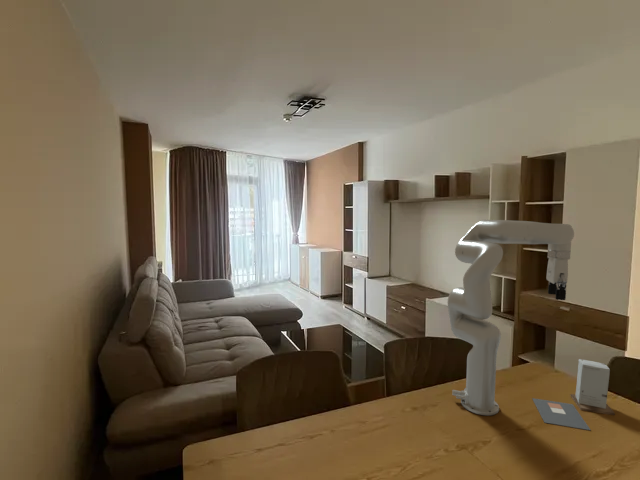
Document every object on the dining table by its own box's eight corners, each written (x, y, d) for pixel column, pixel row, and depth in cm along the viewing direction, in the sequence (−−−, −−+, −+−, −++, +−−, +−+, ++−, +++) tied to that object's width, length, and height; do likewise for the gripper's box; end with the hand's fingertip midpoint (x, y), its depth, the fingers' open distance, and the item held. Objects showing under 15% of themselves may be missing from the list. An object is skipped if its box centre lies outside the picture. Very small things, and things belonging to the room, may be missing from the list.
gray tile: (544, 422, 117) (544, 422, 117) (532, 398, 132) (532, 398, 132) (590, 430, 113) (590, 429, 113) (572, 404, 128) (572, 404, 128)
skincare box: (578, 403, 127) (581, 364, 126) (574, 396, 132) (577, 358, 131) (607, 409, 123) (610, 369, 122) (602, 401, 129) (605, 362, 128)
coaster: (580, 409, 125) (580, 407, 124) (570, 395, 134) (570, 393, 134) (614, 415, 121) (614, 413, 121) (601, 400, 131) (601, 398, 131)
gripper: (541, 252, 149) (539, 291, 150) (554, 256, 132) (552, 301, 134) (562, 252, 146) (560, 292, 148) (578, 257, 130) (575, 302, 131)
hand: (556, 296), depth 141 cm, fingers open, 9 cm apart
